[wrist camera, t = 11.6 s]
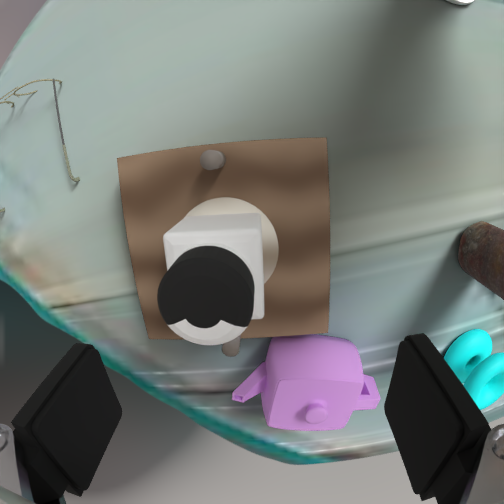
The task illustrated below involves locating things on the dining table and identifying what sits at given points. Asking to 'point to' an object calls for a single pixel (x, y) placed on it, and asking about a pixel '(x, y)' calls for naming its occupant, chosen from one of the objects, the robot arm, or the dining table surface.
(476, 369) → the donuts
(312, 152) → the stand
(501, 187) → the dining table surface
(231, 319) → the medicine bottle
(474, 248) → the brown rusty cylinder
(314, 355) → the teapot
